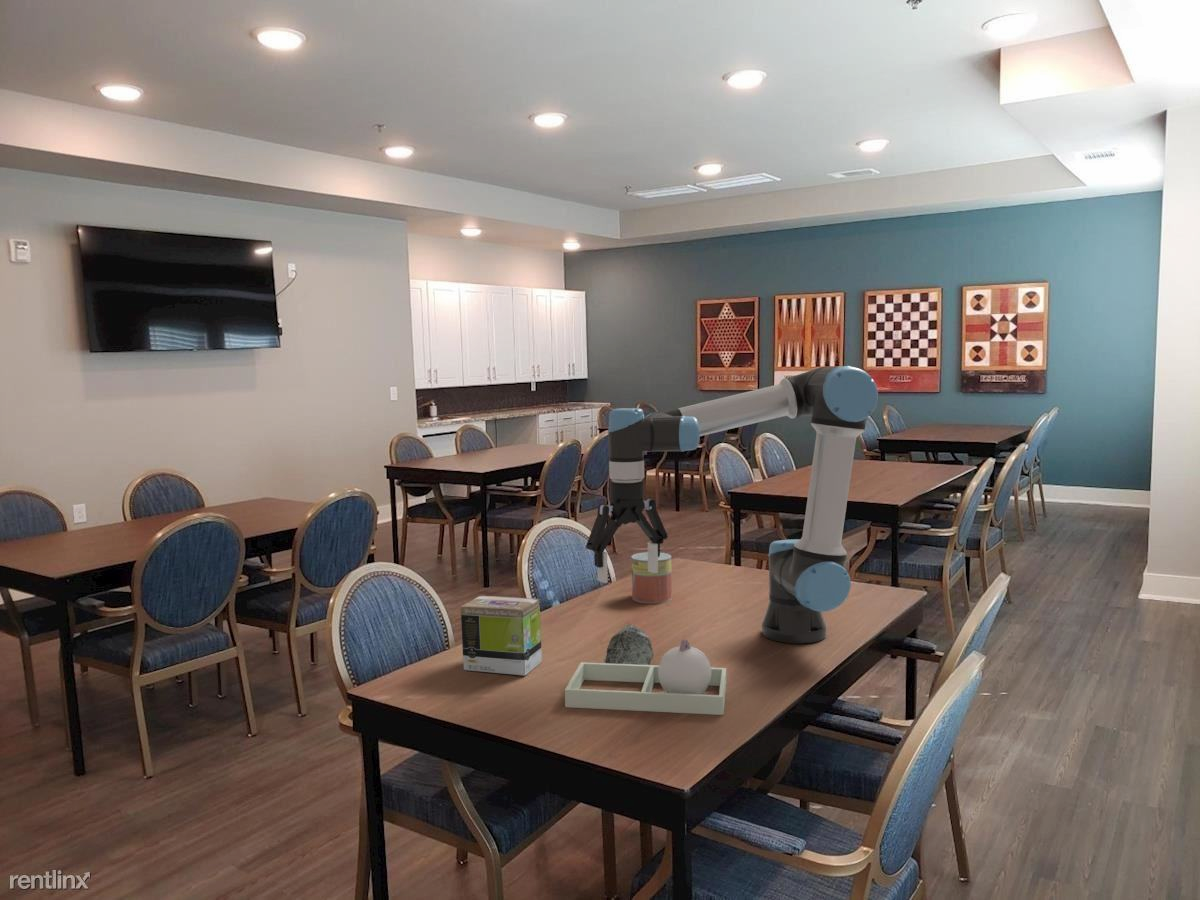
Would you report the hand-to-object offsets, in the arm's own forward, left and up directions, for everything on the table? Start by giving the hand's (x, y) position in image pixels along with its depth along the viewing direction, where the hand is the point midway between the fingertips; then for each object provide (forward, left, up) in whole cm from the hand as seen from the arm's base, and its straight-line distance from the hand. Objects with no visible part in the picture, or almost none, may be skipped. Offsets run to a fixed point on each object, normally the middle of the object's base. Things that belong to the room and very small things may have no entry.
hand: (628, 576), depth 191 cm
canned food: (+2, -55, -20) cm, 59 cm away
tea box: (+28, +4, -20) cm, 35 cm away
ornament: (-14, +17, -20) cm, 30 cm away
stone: (0, 0, -20) cm, 20 cm away
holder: (-6, +17, -20) cm, 27 cm away
